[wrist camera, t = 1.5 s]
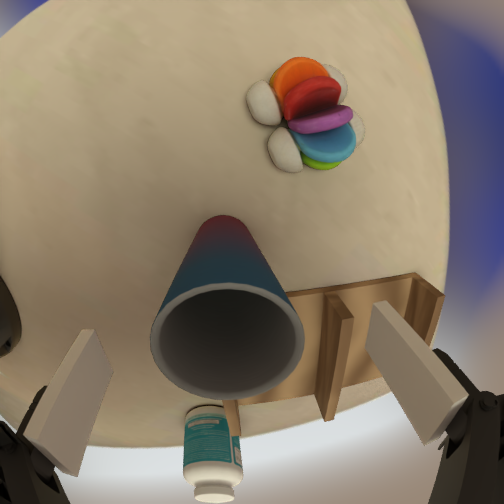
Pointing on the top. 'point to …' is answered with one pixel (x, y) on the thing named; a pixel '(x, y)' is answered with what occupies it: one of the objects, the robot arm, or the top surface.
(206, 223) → the cup
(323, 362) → the rack
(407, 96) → the top surface
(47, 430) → the robot arm
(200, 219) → the top surface
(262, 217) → the top surface
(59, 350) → the top surface
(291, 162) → the rainbow disc stack
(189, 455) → the pill bottle
